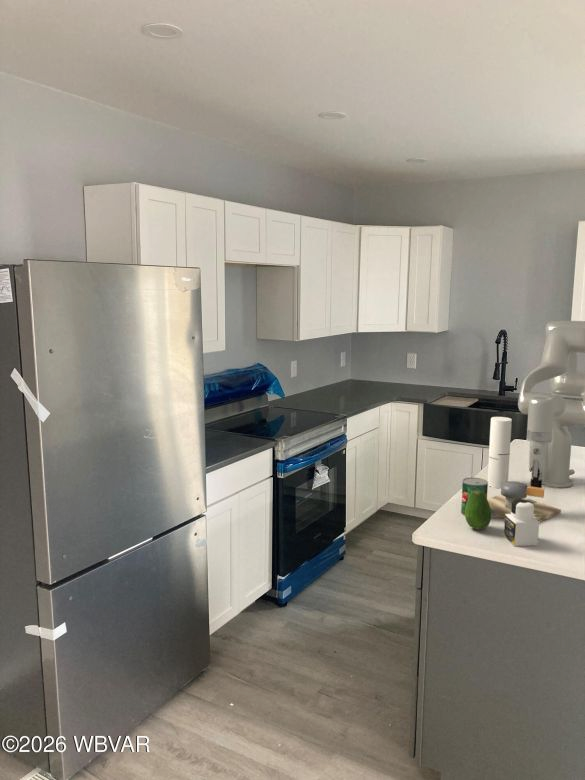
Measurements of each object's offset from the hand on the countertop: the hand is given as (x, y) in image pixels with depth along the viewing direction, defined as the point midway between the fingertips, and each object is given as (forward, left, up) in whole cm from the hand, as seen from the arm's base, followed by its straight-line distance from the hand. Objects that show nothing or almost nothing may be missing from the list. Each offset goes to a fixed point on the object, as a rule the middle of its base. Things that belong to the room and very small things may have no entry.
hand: (535, 490), depth 203 cm
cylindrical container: (-13, -24, -7) cm, 28 cm away
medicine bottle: (+23, +12, -7) cm, 27 cm away
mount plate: (+3, -4, -7) cm, 9 cm away
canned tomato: (+17, -10, -7) cm, 21 cm away
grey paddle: (+4, -2, -1) cm, 5 cm away
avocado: (+26, -1, -7) cm, 28 cm away
